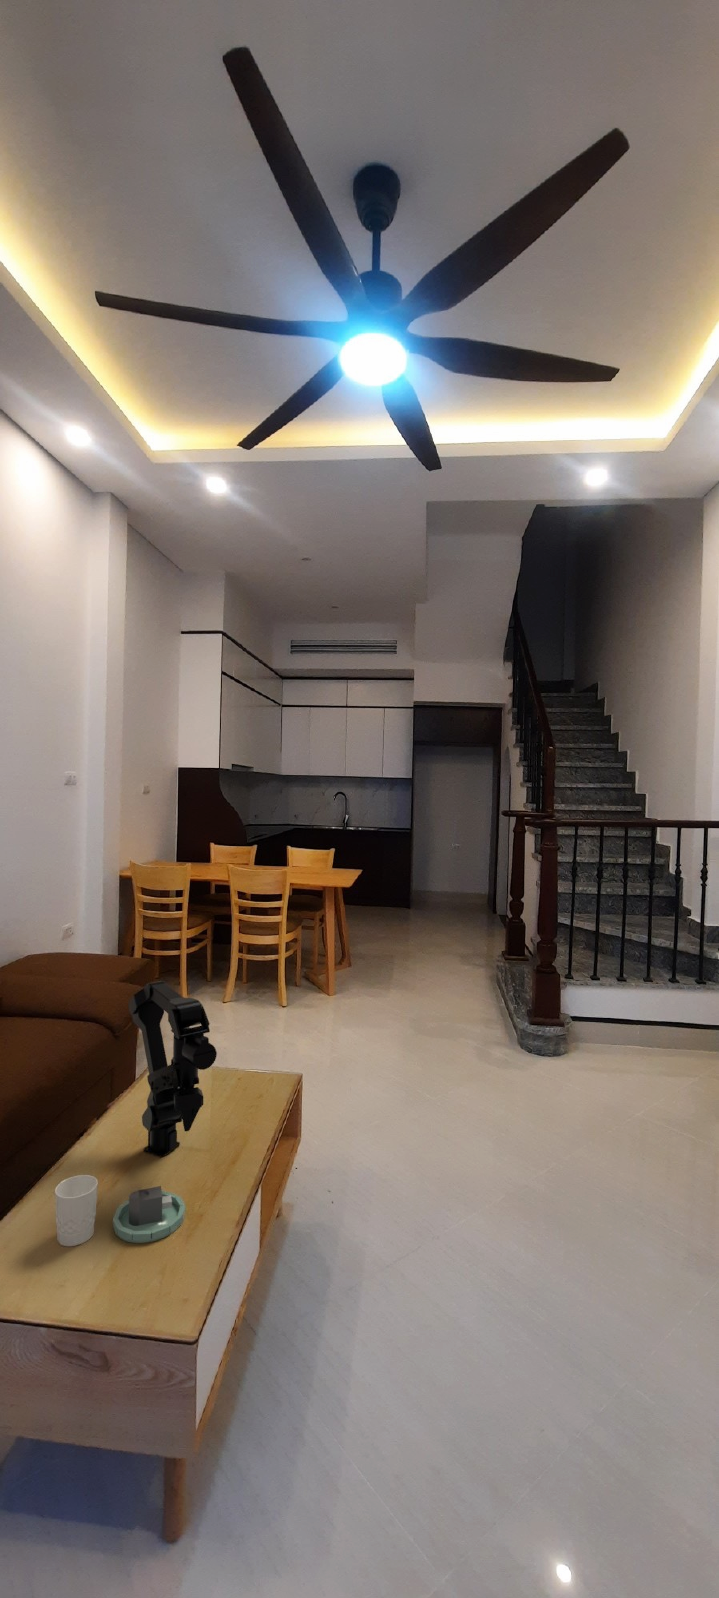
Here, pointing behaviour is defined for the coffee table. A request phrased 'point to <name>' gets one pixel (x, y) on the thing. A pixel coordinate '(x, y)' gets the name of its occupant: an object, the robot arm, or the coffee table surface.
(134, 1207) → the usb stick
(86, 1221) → the white cup
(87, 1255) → the coffee table surface
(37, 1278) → the coffee table surface
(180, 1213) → the dish
